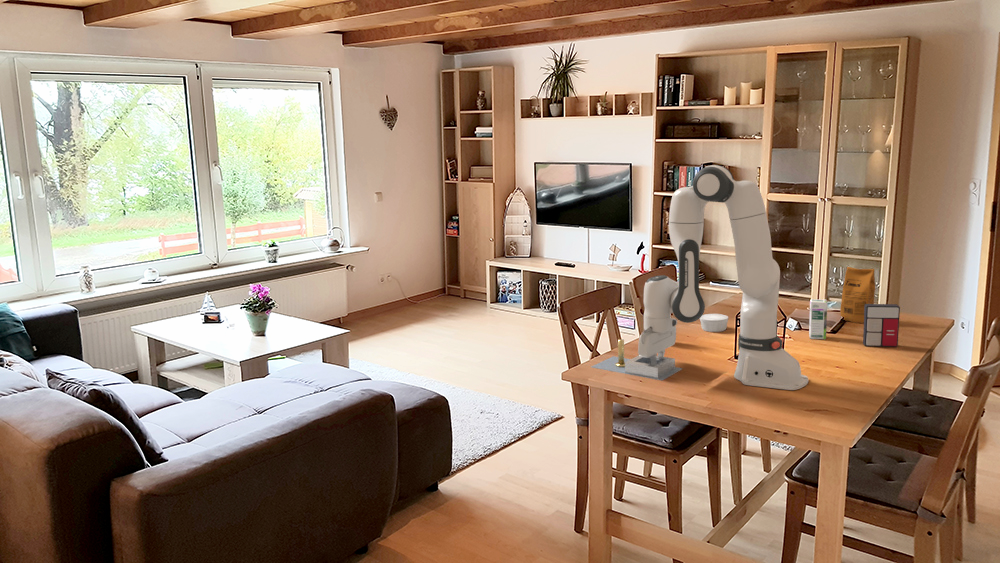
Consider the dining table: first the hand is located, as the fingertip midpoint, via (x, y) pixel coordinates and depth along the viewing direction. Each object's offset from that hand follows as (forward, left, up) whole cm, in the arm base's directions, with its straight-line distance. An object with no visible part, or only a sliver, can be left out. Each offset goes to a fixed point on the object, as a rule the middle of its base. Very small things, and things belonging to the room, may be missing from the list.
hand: (657, 363), depth 255 cm
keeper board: (+6, +4, -3) cm, 8 cm away
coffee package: (-36, -103, -3) cm, 109 cm away
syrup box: (-31, -69, -3) cm, 76 cm away
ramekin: (+7, -61, -3) cm, 62 cm away
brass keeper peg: (+11, +5, -1) cm, 12 cm away
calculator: (-53, -69, -3) cm, 87 cm away
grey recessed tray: (0, +5, -1) cm, 5 cm away
